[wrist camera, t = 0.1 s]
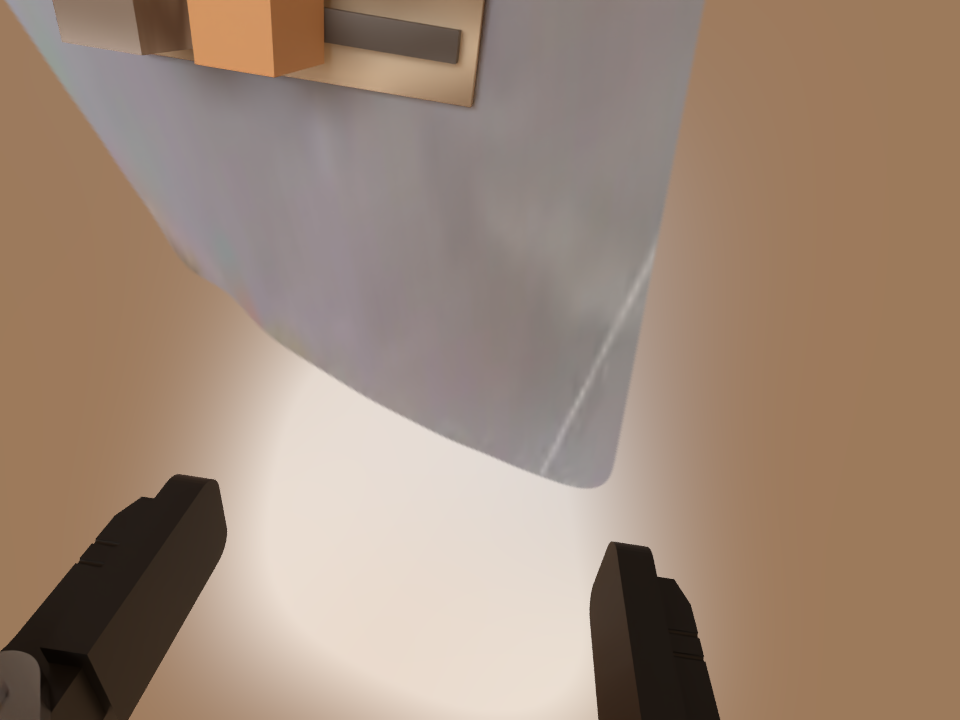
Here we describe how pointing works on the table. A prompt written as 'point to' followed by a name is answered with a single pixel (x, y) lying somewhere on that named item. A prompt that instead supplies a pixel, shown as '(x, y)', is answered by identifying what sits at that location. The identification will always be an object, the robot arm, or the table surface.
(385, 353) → the table surface
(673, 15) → the table surface
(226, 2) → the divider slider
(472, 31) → the pitch plate
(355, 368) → the table surface
